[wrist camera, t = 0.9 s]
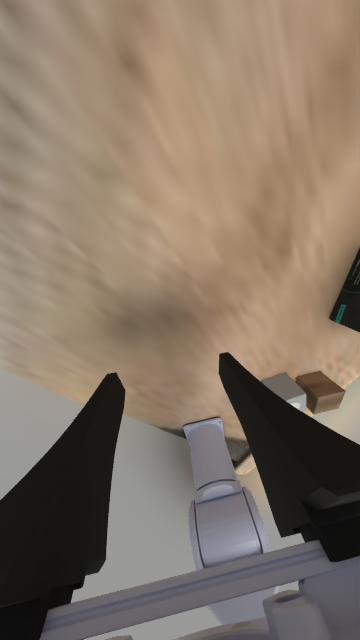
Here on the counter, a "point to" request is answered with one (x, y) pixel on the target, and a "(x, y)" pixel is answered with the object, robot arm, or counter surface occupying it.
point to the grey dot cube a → (287, 390)
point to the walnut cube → (320, 392)
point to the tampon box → (349, 300)
